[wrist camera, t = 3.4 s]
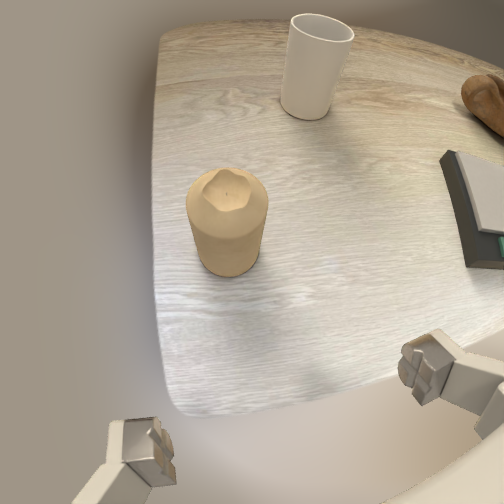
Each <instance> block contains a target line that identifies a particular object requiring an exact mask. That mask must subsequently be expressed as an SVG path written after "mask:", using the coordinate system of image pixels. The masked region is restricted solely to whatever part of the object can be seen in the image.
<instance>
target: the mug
mask: <svg viewBox="0 0 504 504" xmlns="http://www.w3.org/2000/svg"><path fill="white" fill-rule="evenodd" d="M353 39H354V32H353V31H352V30H351V29H350V28H349V27H348V26H347V25H345V24H344V23H342V22H340V21H338V20H335V19H333V18H330V17H327V16H323V15H317V14H300V15H297V16H295V17H293V18H292V19H291V25H290V30H289V37H288V45H287V52H286V60H285V67H284V74H283V81H282V89H281V98H280V102H281V105H282V107H283V108H284V110H285V111H286V112H288V113H289V114H291V115H292V116H294V117H297V118H300V119H304V120H316V119H320V118H322V117H324V116H325V115H326V113H327V112H328V109H329V107H330V104H331V102H332V99H333V96H334V94H335V91H336V88H337V85H338V82H339V80H340V77H341V74H342V71H343V69H344V66H345V63H346V60H347V57H348V55H349V52H350V49H351V46H352V42H353Z"/></svg>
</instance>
